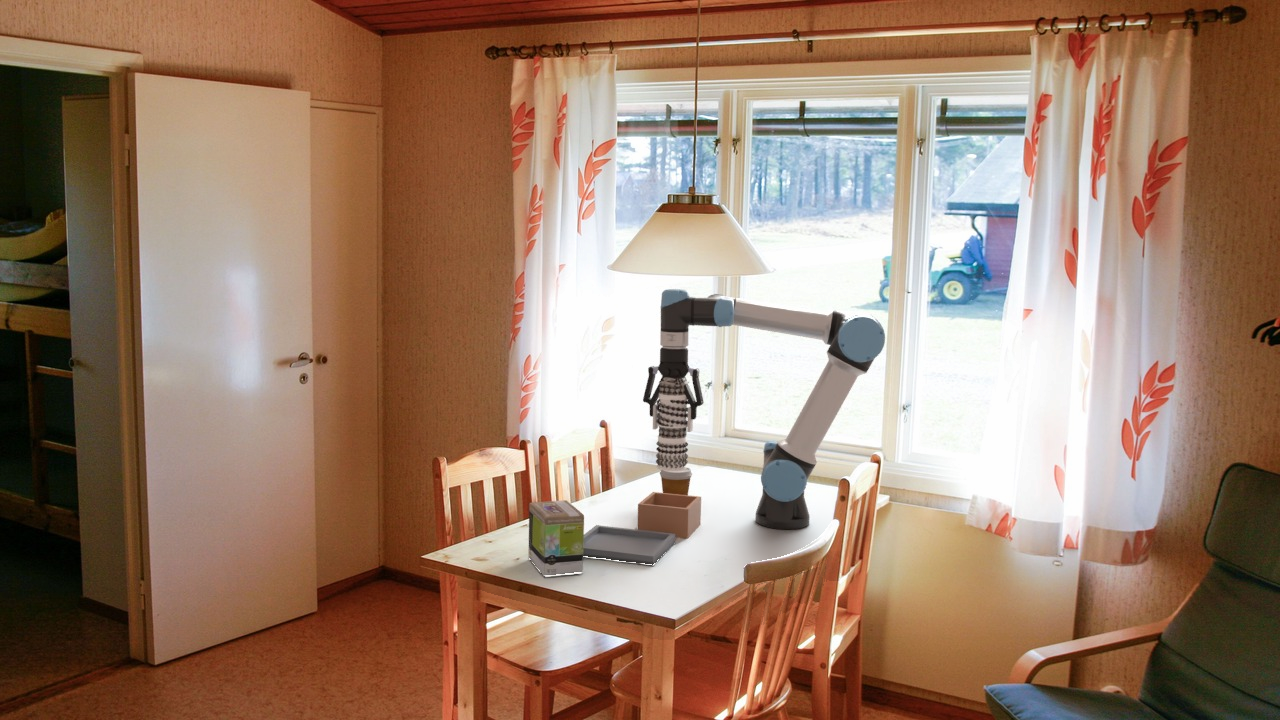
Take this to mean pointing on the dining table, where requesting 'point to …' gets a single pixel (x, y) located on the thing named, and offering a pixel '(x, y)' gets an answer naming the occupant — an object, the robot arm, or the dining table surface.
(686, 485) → the disposable coffee cup
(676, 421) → the decorative candle
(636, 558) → the slate tray
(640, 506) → the terracotta holder
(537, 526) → the tea box
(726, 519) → the dining table surface
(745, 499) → the dining table surface
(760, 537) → the dining table surface
